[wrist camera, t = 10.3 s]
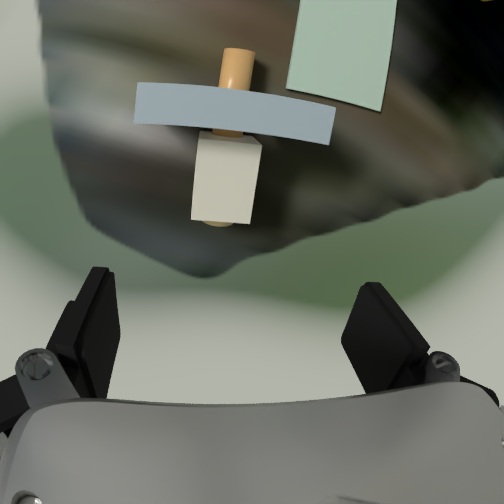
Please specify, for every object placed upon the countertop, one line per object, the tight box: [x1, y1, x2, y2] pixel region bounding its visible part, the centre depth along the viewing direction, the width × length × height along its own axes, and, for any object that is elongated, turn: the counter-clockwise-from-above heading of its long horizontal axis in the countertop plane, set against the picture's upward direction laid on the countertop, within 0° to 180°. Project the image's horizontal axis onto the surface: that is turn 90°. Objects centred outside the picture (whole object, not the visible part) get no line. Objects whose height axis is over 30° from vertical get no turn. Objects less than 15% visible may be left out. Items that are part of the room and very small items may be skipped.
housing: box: [134, 82, 336, 145], centre depth 21 cm, size 2×12×8 cm, turn 82°
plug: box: [191, 48, 262, 227], centre depth 23 cm, size 14×4×5 cm, turn 172°
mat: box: [286, 0, 397, 111], centre depth 21 cm, size 18×9×1 cm, turn 171°
